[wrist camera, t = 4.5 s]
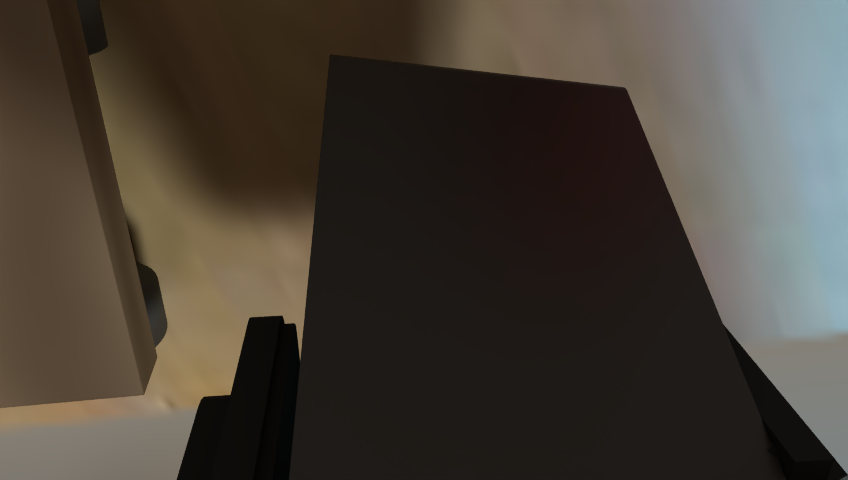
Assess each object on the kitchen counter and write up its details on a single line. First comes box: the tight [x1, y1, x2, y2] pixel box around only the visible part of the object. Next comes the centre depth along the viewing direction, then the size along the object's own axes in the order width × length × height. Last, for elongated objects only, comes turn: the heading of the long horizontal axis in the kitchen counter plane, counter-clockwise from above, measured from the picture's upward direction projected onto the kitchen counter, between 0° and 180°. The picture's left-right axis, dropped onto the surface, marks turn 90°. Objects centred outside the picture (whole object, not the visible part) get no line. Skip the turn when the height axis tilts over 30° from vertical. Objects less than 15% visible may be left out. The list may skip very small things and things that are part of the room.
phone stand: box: [289, 55, 787, 480], centre depth 10 cm, size 9×6×12 cm, turn 172°
